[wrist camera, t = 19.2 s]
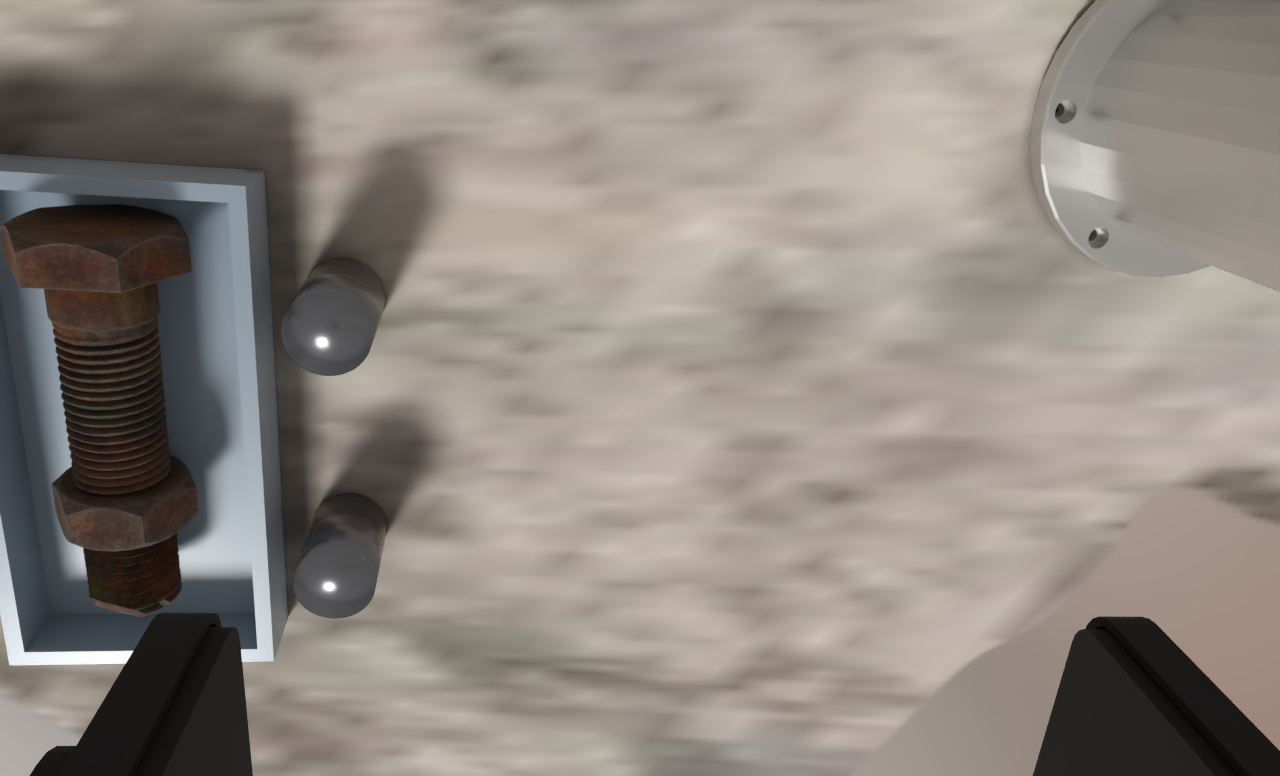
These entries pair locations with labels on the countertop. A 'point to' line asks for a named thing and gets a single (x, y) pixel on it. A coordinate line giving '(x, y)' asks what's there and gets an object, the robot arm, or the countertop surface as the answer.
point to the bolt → (112, 390)
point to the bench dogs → (347, 523)
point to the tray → (195, 408)
